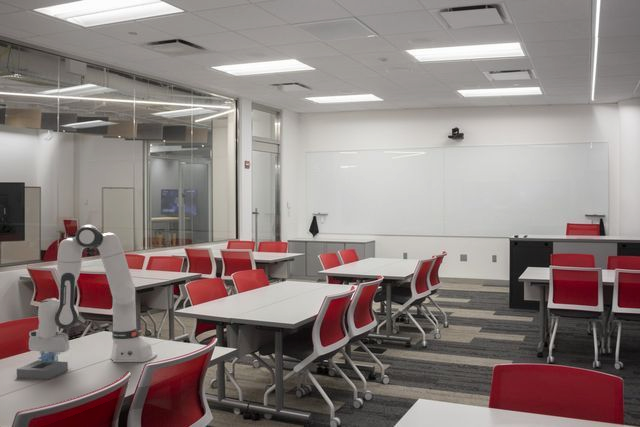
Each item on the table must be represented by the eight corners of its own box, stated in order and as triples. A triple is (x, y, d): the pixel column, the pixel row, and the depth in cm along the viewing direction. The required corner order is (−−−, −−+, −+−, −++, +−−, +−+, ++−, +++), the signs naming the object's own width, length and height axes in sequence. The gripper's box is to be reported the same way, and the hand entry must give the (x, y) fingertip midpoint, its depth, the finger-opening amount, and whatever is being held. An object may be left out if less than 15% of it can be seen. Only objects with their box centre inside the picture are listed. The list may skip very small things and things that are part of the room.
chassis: (67, 370, 274) (67, 361, 274) (47, 379, 260) (47, 370, 260) (38, 368, 277) (37, 360, 277) (16, 377, 264) (16, 369, 264)
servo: (60, 361, 289) (60, 347, 289) (45, 368, 278) (45, 353, 278) (53, 361, 290) (53, 347, 290) (38, 367, 279) (37, 353, 279)
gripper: (71, 331, 284) (72, 359, 285) (35, 329, 289) (36, 357, 289) (63, 334, 278) (64, 363, 279) (26, 332, 283) (27, 361, 283)
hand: (49, 360), depth 284 cm, fingers closed on servo, 4 cm apart
